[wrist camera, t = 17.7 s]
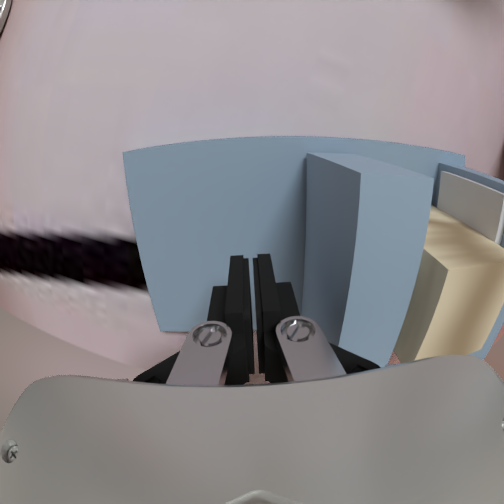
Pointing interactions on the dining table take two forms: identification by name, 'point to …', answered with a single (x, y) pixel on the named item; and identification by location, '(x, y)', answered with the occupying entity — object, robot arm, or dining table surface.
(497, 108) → the dining table surface
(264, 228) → the vise bed
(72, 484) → the robot arm
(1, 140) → the dining table surface
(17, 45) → the dining table surface
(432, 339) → the maple block
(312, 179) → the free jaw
